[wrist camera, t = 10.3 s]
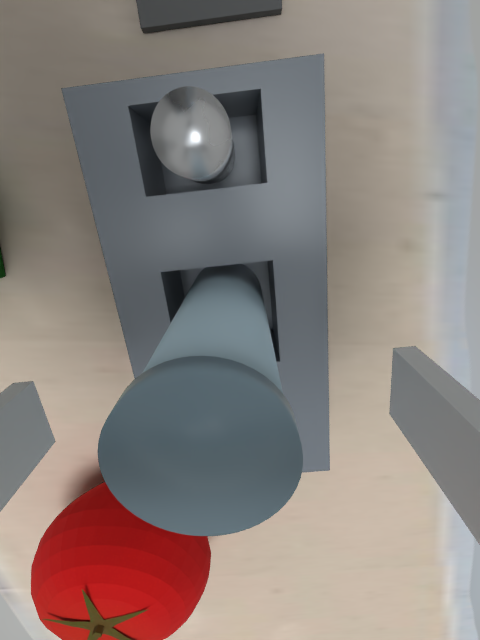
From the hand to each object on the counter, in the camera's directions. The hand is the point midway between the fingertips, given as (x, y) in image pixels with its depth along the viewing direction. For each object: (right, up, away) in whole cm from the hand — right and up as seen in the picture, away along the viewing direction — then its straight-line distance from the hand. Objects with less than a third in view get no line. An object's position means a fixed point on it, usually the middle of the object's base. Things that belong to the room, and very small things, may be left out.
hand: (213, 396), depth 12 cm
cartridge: (0, +5, +12) cm, 12 cm away
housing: (0, +5, +12) cm, 14 cm away
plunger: (-1, +13, +7) cm, 15 cm away
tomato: (-9, -16, +21) cm, 27 cm away
